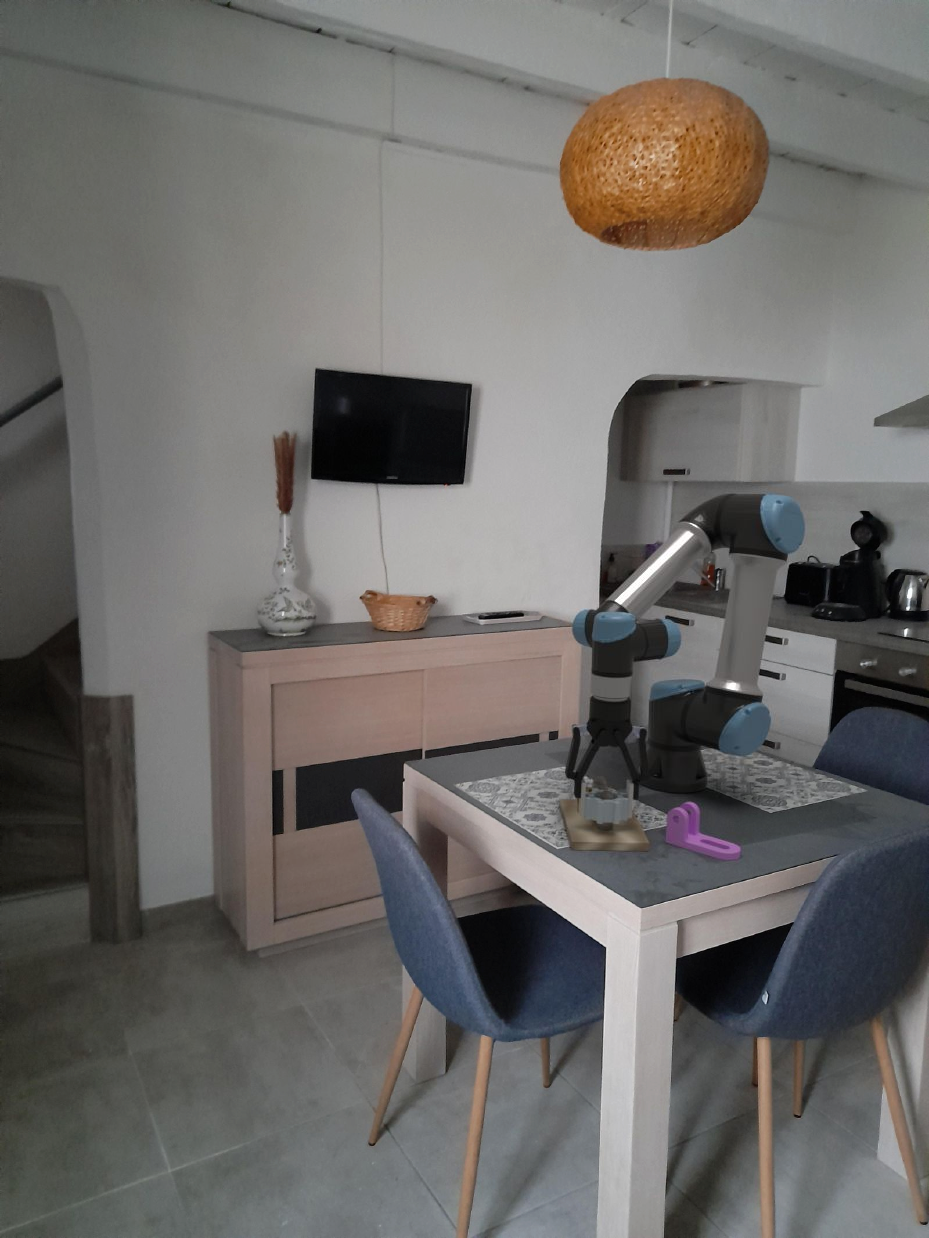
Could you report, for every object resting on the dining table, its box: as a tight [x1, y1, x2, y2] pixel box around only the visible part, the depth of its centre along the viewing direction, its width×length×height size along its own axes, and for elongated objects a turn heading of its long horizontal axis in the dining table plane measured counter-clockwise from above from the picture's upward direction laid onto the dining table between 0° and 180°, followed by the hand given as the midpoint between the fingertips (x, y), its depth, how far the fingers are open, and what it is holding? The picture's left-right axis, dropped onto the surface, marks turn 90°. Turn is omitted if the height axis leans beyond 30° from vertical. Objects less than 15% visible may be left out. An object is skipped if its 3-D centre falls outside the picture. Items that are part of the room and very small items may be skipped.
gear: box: [584, 788, 629, 824], centre depth 165 cm, size 8×8×4 cm
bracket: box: [665, 801, 741, 861], centre depth 161 cm, size 13×6×7 cm, turn 47°
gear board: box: [558, 775, 651, 852], centre depth 170 cm, size 14×22×9 cm, turn 0°
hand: (605, 814), depth 166 cm, fingers closed on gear, 8 cm apart
